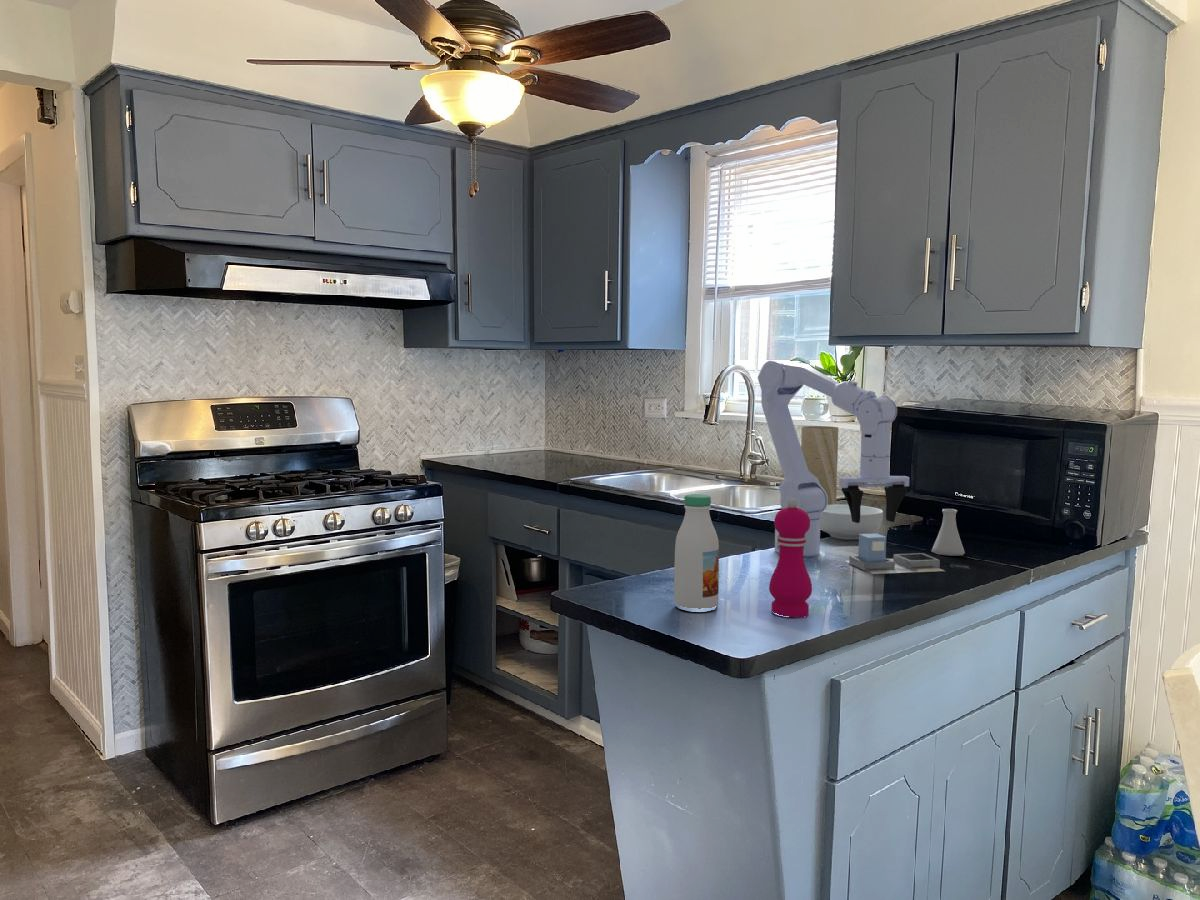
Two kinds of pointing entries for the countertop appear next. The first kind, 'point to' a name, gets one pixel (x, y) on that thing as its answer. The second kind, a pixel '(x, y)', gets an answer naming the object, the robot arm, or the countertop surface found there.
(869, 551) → the plug
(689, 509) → the milk bottle
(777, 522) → the pepper mill
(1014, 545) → the countertop surface
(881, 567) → the panel
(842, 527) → the cereal bowl
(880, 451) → the robot arm
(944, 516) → the flask
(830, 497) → the tapered wooden vase
